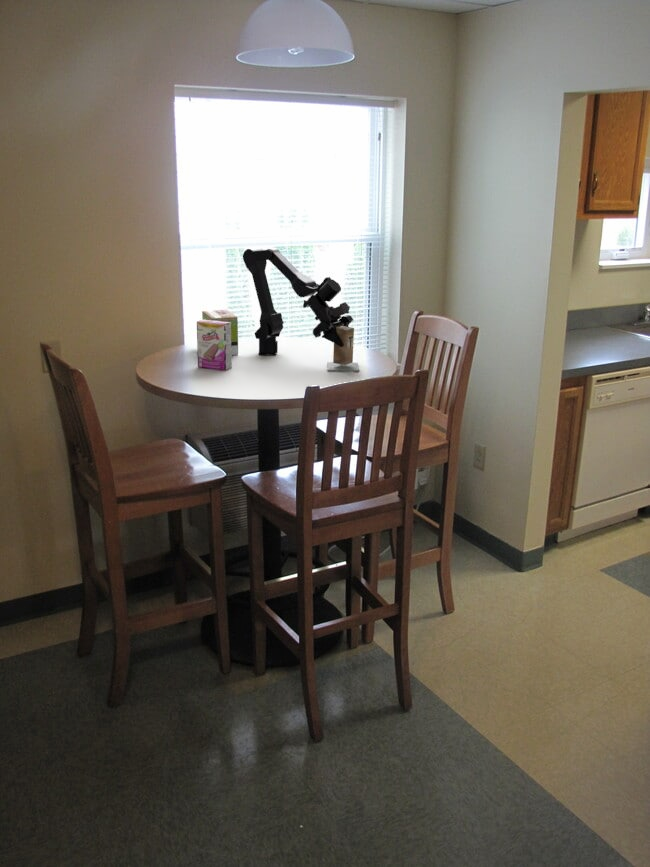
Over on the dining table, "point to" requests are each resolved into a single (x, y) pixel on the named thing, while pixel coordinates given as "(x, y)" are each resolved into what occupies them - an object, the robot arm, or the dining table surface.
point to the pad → (342, 367)
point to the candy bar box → (214, 345)
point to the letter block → (346, 352)
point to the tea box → (225, 317)
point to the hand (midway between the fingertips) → (346, 345)
